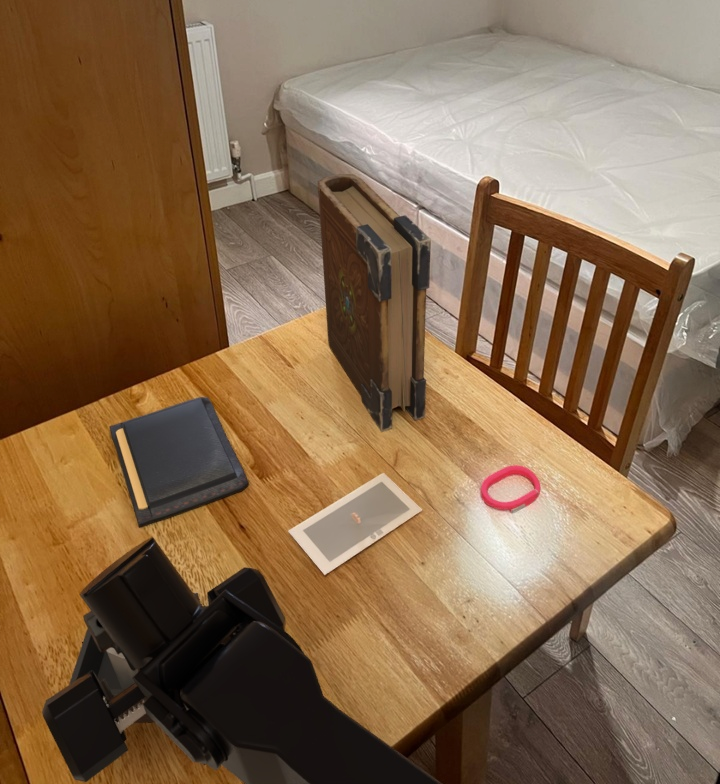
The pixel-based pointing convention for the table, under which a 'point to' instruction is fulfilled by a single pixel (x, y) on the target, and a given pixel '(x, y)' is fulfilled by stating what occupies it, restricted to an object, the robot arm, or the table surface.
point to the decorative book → (375, 296)
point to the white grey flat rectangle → (354, 522)
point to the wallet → (176, 460)
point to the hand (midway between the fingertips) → (153, 651)
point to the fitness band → (517, 503)
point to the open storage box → (102, 669)
